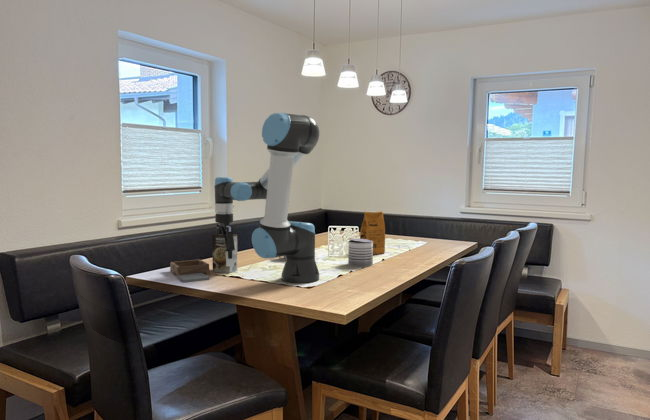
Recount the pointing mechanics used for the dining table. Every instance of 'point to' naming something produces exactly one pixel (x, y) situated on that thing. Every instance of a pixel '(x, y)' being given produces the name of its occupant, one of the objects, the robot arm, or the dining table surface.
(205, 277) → the pad
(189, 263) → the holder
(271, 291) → the dining table surface
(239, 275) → the dining table surface
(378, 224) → the coffee package
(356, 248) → the can
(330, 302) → the dining table surface
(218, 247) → the coffee box
